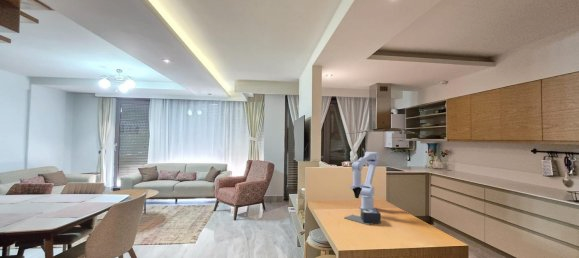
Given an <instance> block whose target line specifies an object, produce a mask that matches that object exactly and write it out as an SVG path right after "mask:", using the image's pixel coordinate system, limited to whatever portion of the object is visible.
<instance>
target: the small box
mask: <svg viewBox="0 0 579 258" xmlns="http://www.w3.org/2000/svg"><path fill="white" fill-rule="evenodd" d="M381 216H382V215H381V213H380V211H379V210H378V209H377V208H374V209H365V208H360V217H361V219H362V220H363V222H364V223H373V224H381V219H382V217H381Z"/></svg>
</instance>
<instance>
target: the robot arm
mask: <svg viewBox="0 0 579 258" xmlns="http://www.w3.org/2000/svg"><path fill="white" fill-rule="evenodd" d="M379 160H380V153H379V152H378V151H365V152H364V155H363V156H362V157H359V159H357V160H356V161H353V162H352V164H351V171H352V184H351V185H349V188H350V189H351V190H352V191H353V194H354V198H355V199H359V198H360V197H361V206H360V207H359V209H361V208H365V209H376V207H375V206H374V204H375V203H374V202H375V201H374V200H375V199H374V195H375V186H373V179H374V176H375V171H376V167H377V165H378V164H379ZM366 164H368V169H367V173H366V177H365V182H364V183H362V171H363V169H364V166H365V165H366Z"/></svg>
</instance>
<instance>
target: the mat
mask: <svg viewBox="0 0 579 258" xmlns="http://www.w3.org/2000/svg"><path fill="white" fill-rule="evenodd" d="M343 219H345V220H350V221H352V222H355V223H358V224H363V225H366V226H371V225H373V224H374V223H364V222H363V220H362V219H361V215H360V216H359V215H355V214H350V215H348V216H344V217H343Z"/></svg>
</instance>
